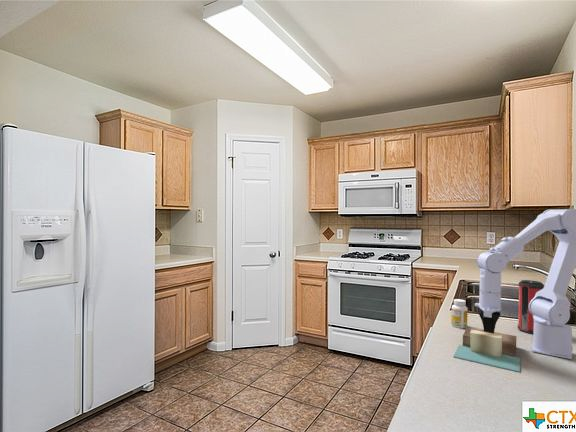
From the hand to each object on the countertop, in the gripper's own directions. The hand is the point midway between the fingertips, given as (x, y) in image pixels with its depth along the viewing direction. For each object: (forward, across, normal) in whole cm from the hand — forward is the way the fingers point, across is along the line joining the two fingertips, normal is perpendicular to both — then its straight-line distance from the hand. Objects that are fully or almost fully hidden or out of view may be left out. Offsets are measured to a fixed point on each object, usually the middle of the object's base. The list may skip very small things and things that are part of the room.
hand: (488, 335), depth 106 cm
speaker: (+5, -30, +11) cm, 32 cm away
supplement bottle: (+5, -20, -11) cm, 23 cm away
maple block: (+1, +4, 0) cm, 4 cm away
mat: (+4, +8, 0) cm, 9 cm away
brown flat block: (+4, -3, 0) cm, 5 cm away
